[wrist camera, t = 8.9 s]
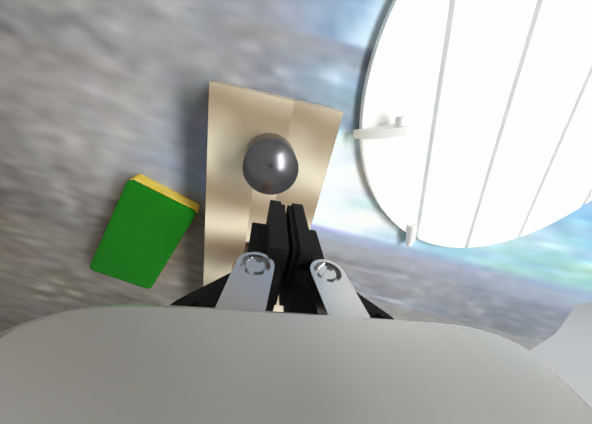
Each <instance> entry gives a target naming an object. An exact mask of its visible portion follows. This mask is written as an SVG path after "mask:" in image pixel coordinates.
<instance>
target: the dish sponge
mask: <svg viewBox="0 0 592 424" xmlns="http://www.w3.org/2000/svg"><path fill="white" fill-rule="evenodd" d="M199 208H200V206H199V204H198V203H196V202H194V201H192V200H190V199H188V198H186V197H184V196H182V195H180V194H178V193H177V192H175V191H173V190H171V189H169V188H167V187H165V186H163V185H161V184H159V183H157V182H155V181H153V180H151V179H149V178H147V177H145V176H143V175H141V174H139V175H135V176H134V177H133V178H131V179H130V180H129V181H127V183H126V185H125V187H124V189H123V192H122V194H121V196H120V198H119V201H118V203H117V205H116V208H115V210H114V212H113V214H112V217H111V219H110V221H109V223H108V226H107V228H106V230H105V233H104V235H103V237H102V239H101V242H100V244H99V246H98V249H97V251H96V253H95V255H94V258H93V260H92V262H91V264H90V268H91V270H93V271H96V272H99V273H102V274H105V275H108V276H111V277H114V278H117V279H120V280H123V281H126V282H129V283H132V284H135V285H138V286H141V287H144V288H147V289H148V288H151V287H152V286H153V284H154V282H155V281H156V279H157V277H158V276H159V274H160V273H161V271H162V269H163V268H164V266H165V264H166V263H167V261H168V259H169V258H170V256H171V255H172V253H173V251H174V250H175V248H176V246H177V245H178V243H179V242H180V240H181V238H182V237H183V235H184V233H185V232H186V230H187V228H188V227H189V225H190V224H191V222H192V220H193V219H194V217H195V215H196V213H197V212H198V210H199Z"/></svg>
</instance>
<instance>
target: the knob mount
mask: <svg viewBox="0 0 592 424" xmlns="http://www.w3.org/2000/svg"><path fill="white" fill-rule="evenodd" d="M342 116H343V112H341V111H339V110H337V109H334V108H332V107H328V106H323V105H319V104H315V103H310V102H306V101H302V100H297V99H293V98H289V97H285V96H280V95H276V94H272V93H267V92H263V91H259V90H255V89H250V88H246V87H242V86H237V85H233V84H229V83H224V82H220V81H209V106H208V140H207V175H206V209H205V244H204V278H203V286H205V285H207V284H209V283H211V282H213V281H215V280H217V279H219V278H221V277H223V276H225V275H227V274H229V273H231V270H232V265H233V263H234V261H235V260H236V259H237V258H238V257H239V256H241V255H242V254H245V253H248V246H249V240H250V233H251V227H252V222H254V223H262V224H266V221H267V215H268V210H269V204H270V200H275V201H281V204H283V205H285V212H286V209H287V206H288V205H290V206H291V204H292V203H295V204H302V205H303V208H304V212H305V215H306V219H307V223H308V227H309V230H310V227H311V223H312V220H313V216H314V213H315V209H316V206H317V202H318V199H319V196H320V192H321V189H322V185H323V182H324V178H325V175H326V171H327V168H328V164H329V161H330V157H331V154H332V150H333V147H334V143H335V140H336V136H337V133H338V129H339V126H340V123H341V119H342ZM265 133H274V134H278V135H280V136H282V137H284V138H285V139H286V140H287V141H288V142H289V143H290V144H291V146H292V148H293V150H294V153H295V156H296V158H297V161H298V167H299V170H298V176H297V178H296V181H295V182H294V184H293V185H292V186H291V187H290V188H289V189H288V190H286V191H284V192H282V193H280V194H275V195H267V194H262V193H260V192H257V191H256V190H254V189H253V188H252V187H251V186H250V185H249V184H248V183H247V181H246V180H245V178H244V175H243V169H242V167H243V160H244V157H245V154H246V150H247V147H248V145H249V144H250V142H251V141H252V140H253V139H254V138H256V137H257V136H259V135H261V134H265ZM273 311H275V312H284V310H283V306H280V305H279V295H278V299H277V303H276V305H274V309H273Z"/></svg>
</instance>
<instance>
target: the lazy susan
mask: <svg viewBox="0 0 592 424" xmlns="http://www.w3.org/2000/svg"><path fill="white" fill-rule="evenodd" d="M353 138H355V139H359V142H360V153H361V160H362V165H363V169H364V173H365V177H366V180H367V183H368V185H369V188H370V190H371V192H372V194H373V196H374V198H375V200H376V202H377V203H378V205H379V206H380V208H381V209H382V210H383V212H384V213H385V214H386V215H387V216H388V217H389V218H390V219H391V221H392V222H393V223H395V224H396V225H397V226H398V227H399V228H400V229H402V230H403V231H405V232H406V246H412V243H414V242H415V237H416V238H417V239H419V240H421V241H424V242H427V243H430V244H434V245H438V246H444V247H454V248H465V246H466V247H467V248H470V247H481V246H487V245H493V244H497V243H502V242H505V241H509V240H512V239H516V238H517V237H518V236H519V237H521V236H524V235H527V234H529V233H532V232H534V231H537V230H539V229H541V228H543V227H546V226H548V225H550V224H552V223H554V222H556V221H558V220H559V219H561V218H563V217H565V216H567V215H568V214H570V213H572V212H574V211H575V210H577V209H578V208H580V207H581V206H582V204H586V203H588V202H589V201H591V200H592V0H393V1H392V3H391V5H390V7H389V9H388V12H387V14H386V16H385V19H384V21H383V23H382V26H381V28H380V31H379V34H378V37H377V39H376V42H375V45H374V48H373V51H372V54H371V58H370V61H369V65H368V69H367V73H366V77H365V82H364V87H363V92H362V99H361V107H360V119H359V129H356V130H353Z"/></svg>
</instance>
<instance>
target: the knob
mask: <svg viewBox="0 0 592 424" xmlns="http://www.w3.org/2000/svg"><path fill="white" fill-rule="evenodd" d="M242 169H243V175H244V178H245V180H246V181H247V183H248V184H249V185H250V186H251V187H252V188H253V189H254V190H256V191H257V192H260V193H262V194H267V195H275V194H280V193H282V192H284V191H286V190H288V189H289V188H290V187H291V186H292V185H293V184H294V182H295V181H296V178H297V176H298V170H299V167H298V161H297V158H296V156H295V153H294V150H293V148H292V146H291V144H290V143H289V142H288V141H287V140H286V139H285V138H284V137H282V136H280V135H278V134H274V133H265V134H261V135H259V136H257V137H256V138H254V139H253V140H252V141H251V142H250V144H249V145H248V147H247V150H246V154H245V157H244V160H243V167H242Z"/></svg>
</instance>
